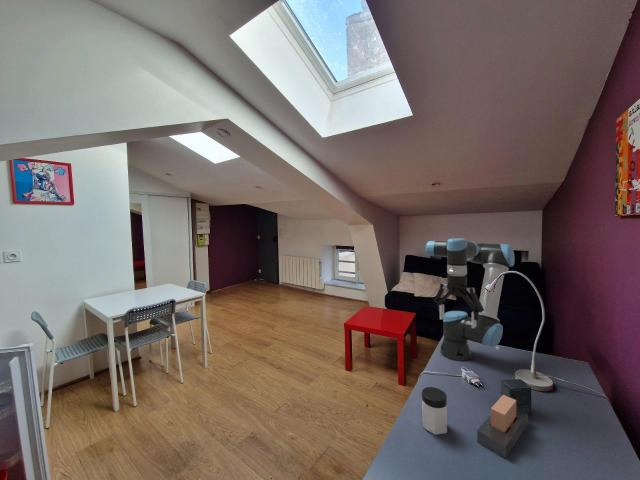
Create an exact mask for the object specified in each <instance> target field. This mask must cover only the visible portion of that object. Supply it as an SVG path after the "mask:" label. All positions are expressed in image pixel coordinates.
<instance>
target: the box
mask: <svg viewBox="0 0 640 480" xmlns="http://www.w3.org/2000/svg"><path fill="white" fill-rule="evenodd" d="M500 383H501V385H500V387H501V388H500V389H501V390H500V393H501V396H502V395H505V396H507V397H510V398H512V399H515V400H516V408H518V409H521V410H523V411H525V412H528V415H532V412H533V411H532V409H533V408H532V402H533V401H532V386H530V384H528V383H527V382H525V381H524V380H523V379H521V378H515V379H514V378H513V379H501V381H500ZM501 396H500V397H501Z"/></svg>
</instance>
